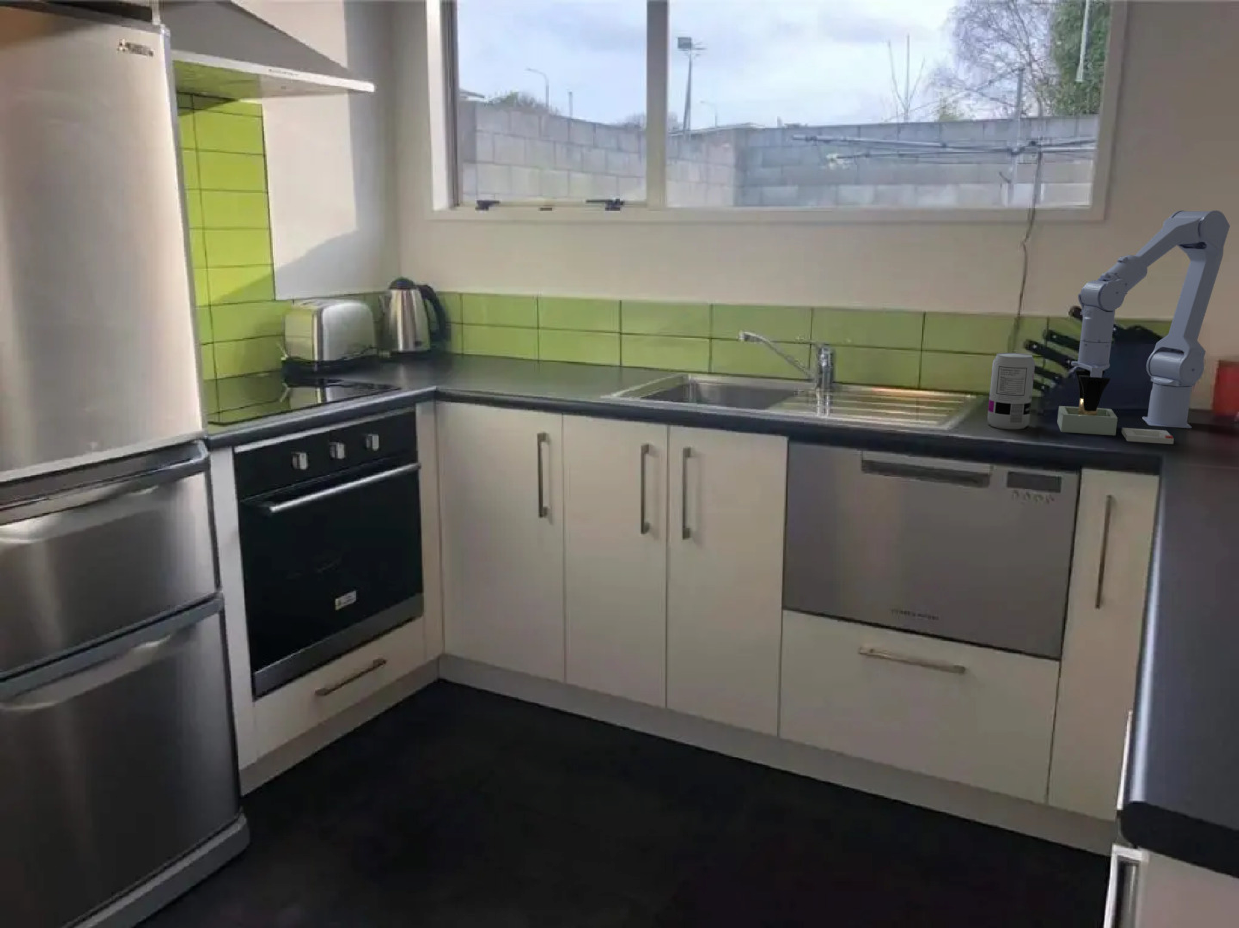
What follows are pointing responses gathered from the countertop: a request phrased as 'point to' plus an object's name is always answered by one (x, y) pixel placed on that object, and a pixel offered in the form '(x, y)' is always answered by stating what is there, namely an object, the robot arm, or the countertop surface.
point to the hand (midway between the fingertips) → (1087, 407)
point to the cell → (1082, 411)
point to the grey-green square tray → (1087, 421)
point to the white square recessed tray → (1147, 435)
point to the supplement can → (1011, 390)
